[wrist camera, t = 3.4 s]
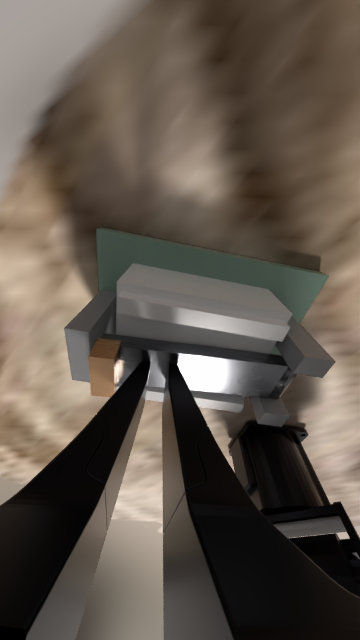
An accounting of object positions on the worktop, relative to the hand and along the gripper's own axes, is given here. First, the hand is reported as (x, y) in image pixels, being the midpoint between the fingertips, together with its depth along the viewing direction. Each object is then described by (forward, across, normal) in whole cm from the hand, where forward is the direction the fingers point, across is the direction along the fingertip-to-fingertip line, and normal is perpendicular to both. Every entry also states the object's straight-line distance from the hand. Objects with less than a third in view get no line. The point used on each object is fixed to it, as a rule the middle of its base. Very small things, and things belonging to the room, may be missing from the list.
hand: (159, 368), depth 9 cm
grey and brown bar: (+1, -2, 0) cm, 2 cm away
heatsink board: (+5, -2, 0) cm, 5 cm away
